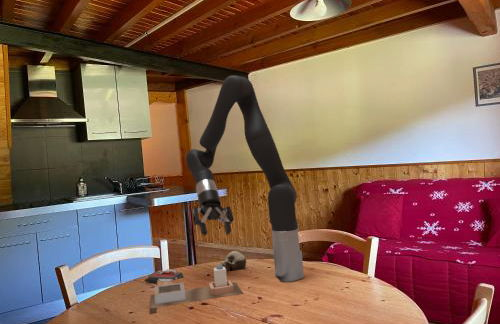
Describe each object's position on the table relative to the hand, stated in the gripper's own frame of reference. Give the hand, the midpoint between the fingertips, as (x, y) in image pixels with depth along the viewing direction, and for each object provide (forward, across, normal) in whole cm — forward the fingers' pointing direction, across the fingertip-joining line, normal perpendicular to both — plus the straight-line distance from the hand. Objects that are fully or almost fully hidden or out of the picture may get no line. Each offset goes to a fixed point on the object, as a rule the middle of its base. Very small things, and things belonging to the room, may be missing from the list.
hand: (217, 234), depth 130 cm
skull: (+5, +14, +22) cm, 26 cm away
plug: (+18, -1, +4) cm, 19 cm away
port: (+17, -17, +8) cm, 25 cm away
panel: (+19, -9, +7) cm, 22 cm away
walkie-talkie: (+6, -10, +26) cm, 28 cm away
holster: (+18, -1, +4) cm, 19 cm away
